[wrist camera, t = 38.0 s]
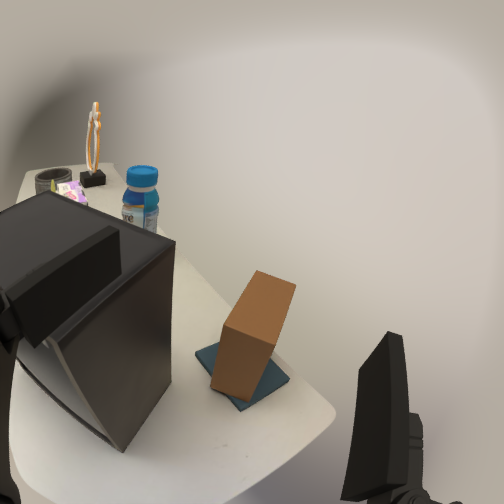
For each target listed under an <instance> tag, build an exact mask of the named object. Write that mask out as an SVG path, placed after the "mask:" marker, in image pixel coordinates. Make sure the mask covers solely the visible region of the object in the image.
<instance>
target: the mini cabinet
mask: <svg viewBox="0 0 504 504" xmlns="http://www.w3.org/2000/svg"><path fill="white" fill-rule="evenodd" d="M108 225H110V226H112V227H115V228H117V229H119V230H120V253H121V268H122V275H120V276H119V277H118V278H116V279H115V280H114V281H113V282H111V283H110V284H109V285H108V286H107V287H105V288H104V289H103V290H102V291H100V292H99V293H98V294H97V295H96V296H94V297H93V298H92V299H91V300H89V301H88V302H87V303H86V304H85V305H84V306H82V307H81V308H80V309H79V310H78V311H76V312H75V313H74V314H73V315H72V316H71V317H69V318H68V319H67V320H66V321H65V322H64V323H63V324H61V325H60V326H59V327H58V328H57V329H56V330H55V331H54V332H53V333H51V334H50V335H49V336H48V337H47V338H46V339H45V340H44V341H43V342H42V343H40V344H39V345H38V346H37V347H36V348H35V349H34V348H33V347H32V346H31V345H30V344H29V343H28V342H27V340H26V339H25V337H24V335H23V333H22V331H20V332H19V336H20V340H19V345H18V350H17V355H16V359H17V361H18V362H19V364H20V365H21V367H22V369H23V370H24V371H25V372H26V373H27V374H28V375H29V376H30V377H31V378H32V379H33V380H34V381H35V382H36V383H37V384H38V385H39V386H40V387H41V388H42V389H43V390H44V391H45V392H46V393H47V394H48V395H49V396H50V397H51V398H52V399H53V400H54V401H55V402H56V403H57V404H59V405H60V406H61V407H62V408H63V409H64V410H65V411H66V412H68V413H69V414H70V415H71V416H72V417H74V418H75V419H76V420H77V421H79V422H80V423H81V424H82V425H84V426H85V427H86V428H87V429H89V430H90V431H91V432H93V433H94V434H95V435H97V436H98V437H100V438H101V439H102V440H104V441H105V442H107V443H108V444H110V445H111V446H113V447H114V448H116V449H117V450H119V451H120V452H122V453H123V452H124V451H125V449H126V448H127V446H128V445H129V443H130V442H131V441H132V439H133V438H134V436H135V435H136V433H137V432H138V430H139V429H140V427H141V426H142V424H143V423H144V422H145V420H146V419H147V417H148V416H149V414H150V413H151V411H152V410H153V408H154V407H155V405H156V404H157V402H158V401H159V399H160V398H161V396H162V395H163V394H164V392H165V391H166V389H167V388H168V386H169V385H170V383H171V318H172V291H173V272H174V257H175V245H176V242H175V241H173V240H171V239H168V238H166V237H163V236H161V235H158V234H156V233H153V232H151V231H148V230H146V229H143V228H141V227H138V226H136V225H133V224H131V223H128V222H126V221H123V220H121V219H118V218H116V217H113V216H111V215H108V214H106V213H103V212H101V211H99V210H96V209H94V208H91V207H89V206H86V205H84V204H81V203H79V202H77V201H74V200H72V199H69V198H67V197H65V196H62V195H60V194H58V193H55V192H53V191H50V190H47V191H44V192H42V193H40V194H37V195H35V196H33V197H31V198H28V199H26V200H24V201H22V202H20V203H18V204H16V205H13V206H12V207H10V208H7V209H5V210H3V211H1V212H0V291H2V290H3V289H5V288H6V287H7V286H9V285H10V284H12V283H13V282H14V281H16V280H17V279H19V278H20V277H21V276H23V275H26V273H27V272H29V271H30V270H31V271H32V269H33V268H35V267H36V266H38V265H39V264H41V263H44V262H46V261H49V260H52V259H53V258H55V257H56V256H58V255H60V254H61V253H63V252H64V251H66V250H68V249H69V248H71V247H72V246H74V245H76V244H77V243H79V242H81V241H82V240H84V239H86V238H87V237H89V236H91V235H93V234H94V233H96V232H98V231H100V230H101V229H103V228H105V227H107V226H108Z"/></svg>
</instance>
